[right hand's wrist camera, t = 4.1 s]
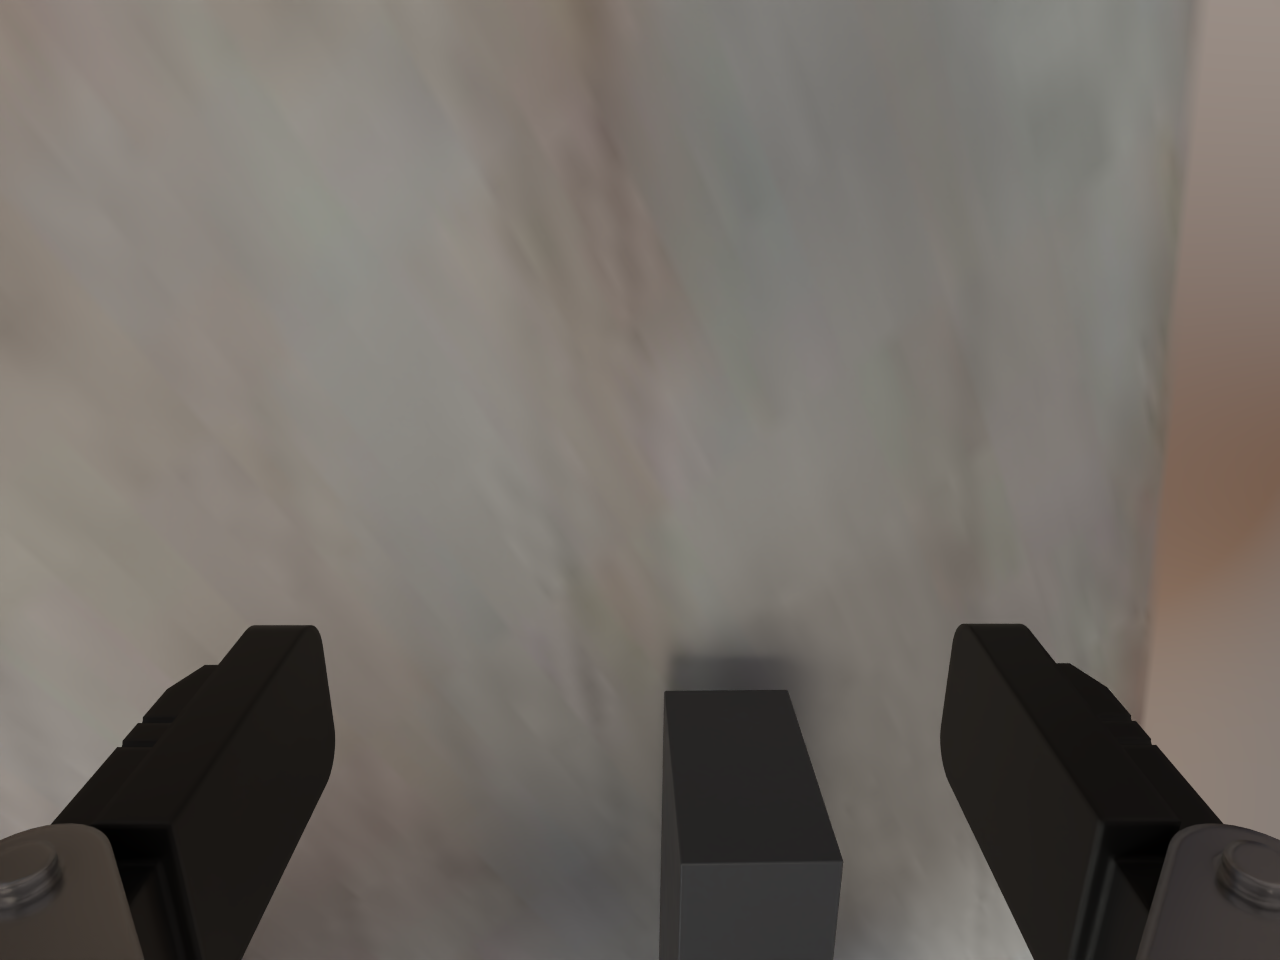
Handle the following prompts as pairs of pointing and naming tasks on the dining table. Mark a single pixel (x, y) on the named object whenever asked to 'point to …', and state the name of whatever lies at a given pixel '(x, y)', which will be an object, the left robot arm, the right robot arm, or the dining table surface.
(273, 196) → the dining table surface
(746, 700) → the box
